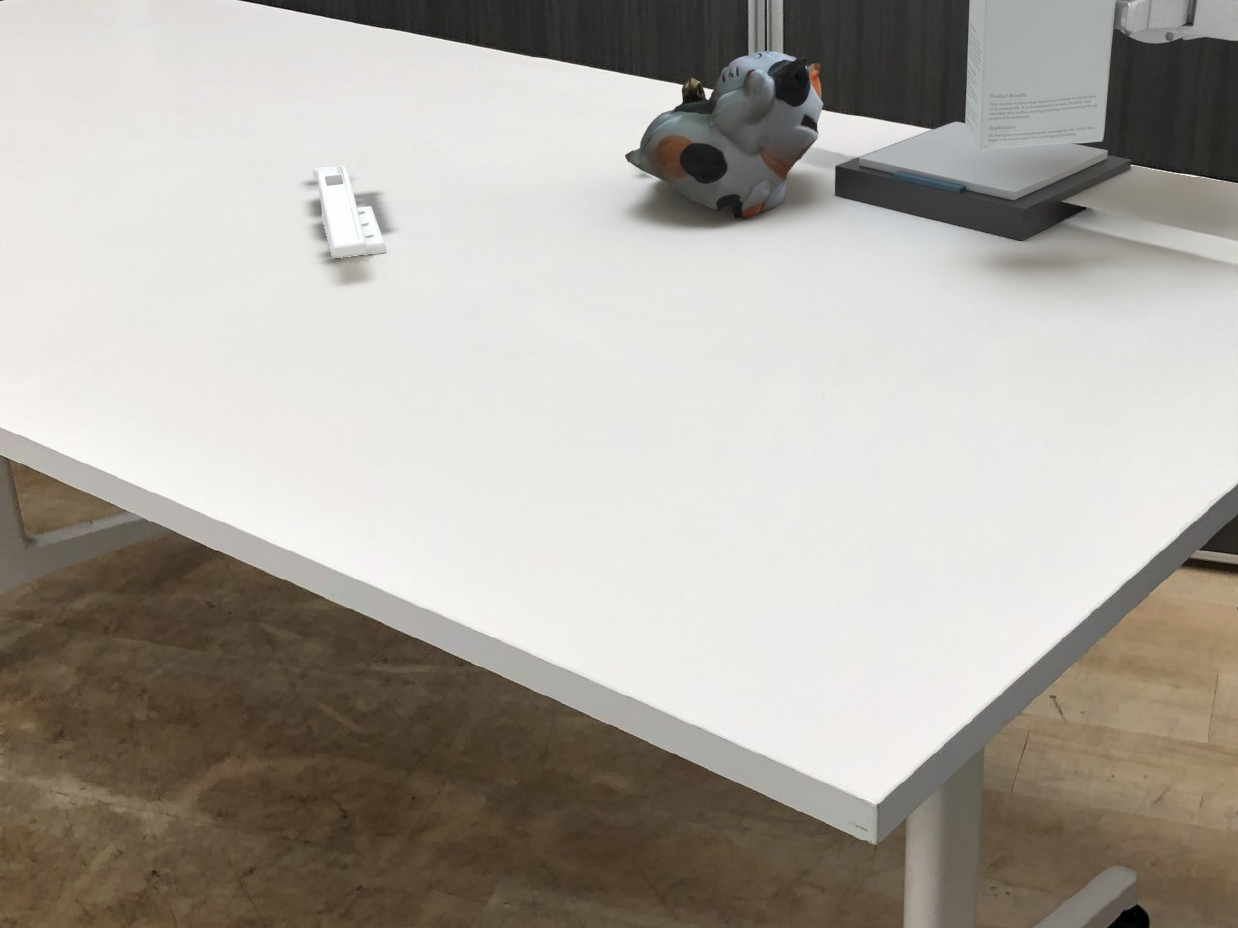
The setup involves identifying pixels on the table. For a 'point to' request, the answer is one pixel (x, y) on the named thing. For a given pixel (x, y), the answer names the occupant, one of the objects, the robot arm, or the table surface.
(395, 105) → the table surface
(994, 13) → the cosmetic box
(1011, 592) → the table surface
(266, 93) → the table surface
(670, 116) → the lucky cat figurine
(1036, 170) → the scale
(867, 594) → the table surface
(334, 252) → the white intercom handset
